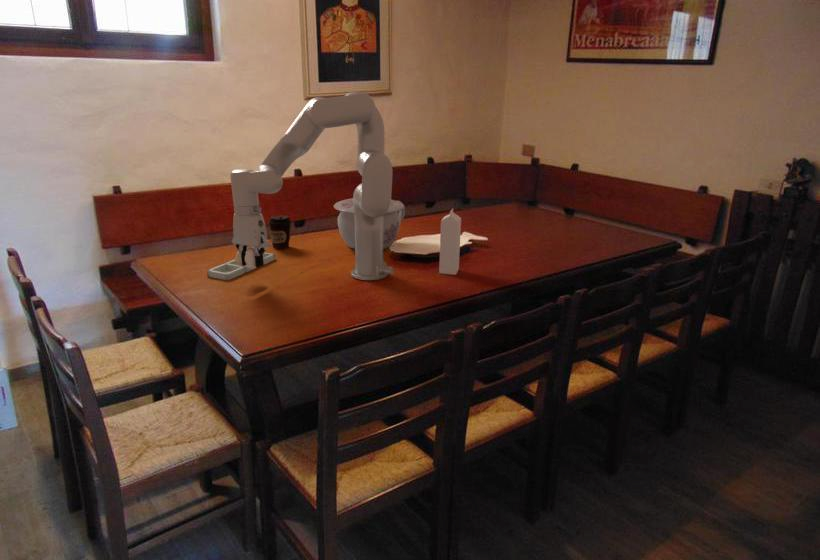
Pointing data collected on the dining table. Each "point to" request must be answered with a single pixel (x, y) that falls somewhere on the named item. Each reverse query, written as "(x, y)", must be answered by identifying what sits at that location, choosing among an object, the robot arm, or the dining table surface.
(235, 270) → the egg carton
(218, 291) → the dining table surface
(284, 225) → the coffee cup
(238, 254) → the brown egg middle
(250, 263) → the white egg shape
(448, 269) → the milk
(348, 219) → the chamber pot
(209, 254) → the dining table surface
